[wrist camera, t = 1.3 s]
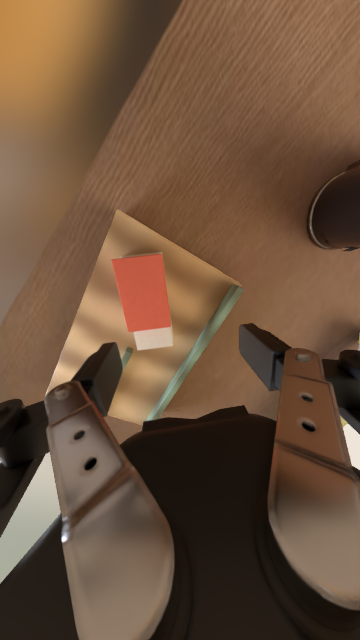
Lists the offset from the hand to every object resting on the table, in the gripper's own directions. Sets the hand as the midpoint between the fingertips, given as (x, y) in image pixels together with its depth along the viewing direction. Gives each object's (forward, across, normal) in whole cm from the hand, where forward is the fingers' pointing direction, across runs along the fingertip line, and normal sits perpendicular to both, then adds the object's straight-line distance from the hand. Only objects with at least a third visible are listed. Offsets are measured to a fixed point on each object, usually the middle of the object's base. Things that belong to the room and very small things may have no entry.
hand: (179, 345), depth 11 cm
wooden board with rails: (+17, +6, +6) cm, 19 cm away
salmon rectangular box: (+14, +3, 0) cm, 14 cm away
